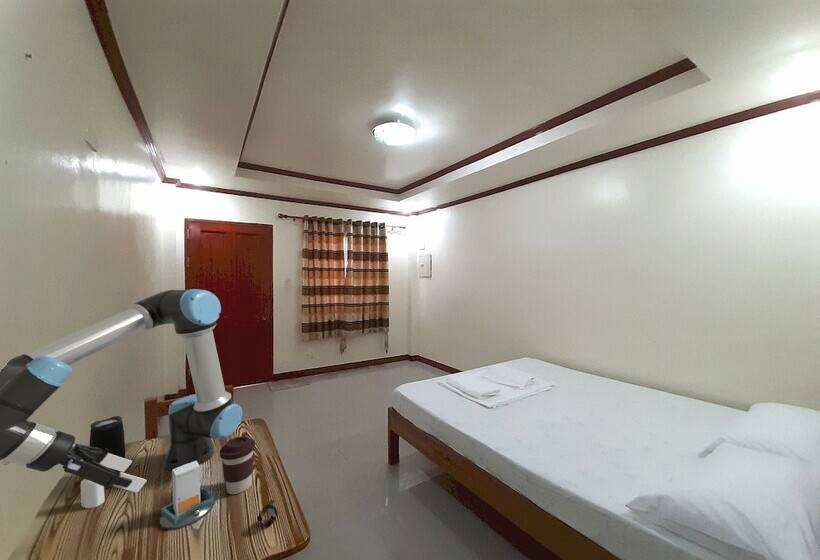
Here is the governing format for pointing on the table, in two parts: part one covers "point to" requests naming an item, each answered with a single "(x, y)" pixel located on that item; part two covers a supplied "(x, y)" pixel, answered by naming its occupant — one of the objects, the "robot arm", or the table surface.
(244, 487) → the coffee cup
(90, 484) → the eye dropper bottle
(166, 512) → the keyed nest
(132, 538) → the table surface
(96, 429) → the portable speaker
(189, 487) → the skincare box
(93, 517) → the table surface
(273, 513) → the smartwatch
